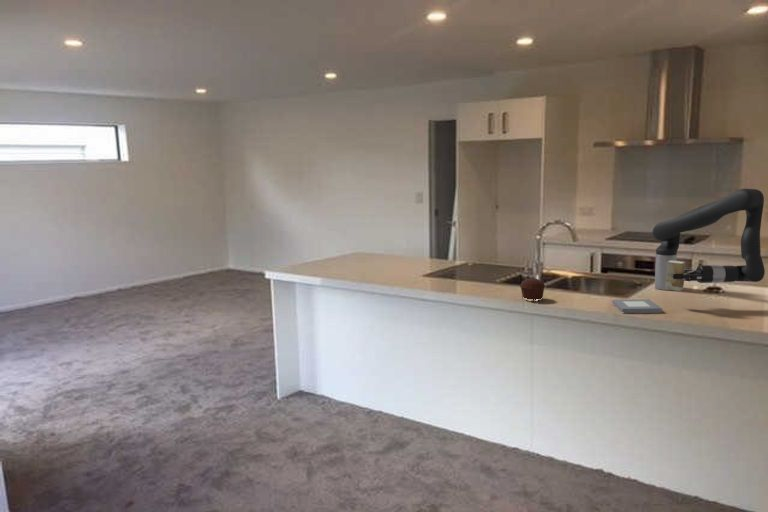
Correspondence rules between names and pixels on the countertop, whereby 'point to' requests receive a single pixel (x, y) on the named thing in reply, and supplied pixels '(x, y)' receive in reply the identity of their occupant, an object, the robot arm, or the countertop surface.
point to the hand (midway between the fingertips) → (670, 274)
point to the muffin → (532, 288)
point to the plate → (637, 306)
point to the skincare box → (675, 268)
